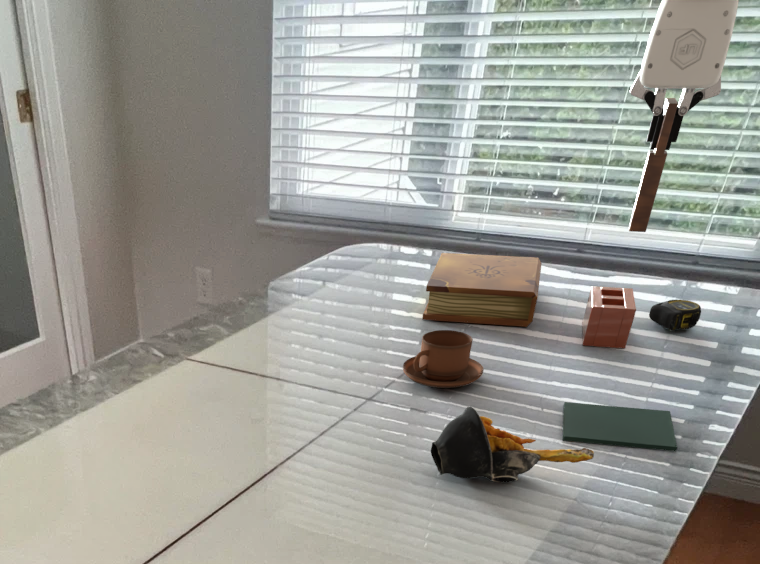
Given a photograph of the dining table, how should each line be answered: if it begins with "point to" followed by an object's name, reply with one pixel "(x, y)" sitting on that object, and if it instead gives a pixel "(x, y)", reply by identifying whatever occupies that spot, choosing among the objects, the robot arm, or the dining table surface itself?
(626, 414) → the mat
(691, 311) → the tape measure
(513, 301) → the diary
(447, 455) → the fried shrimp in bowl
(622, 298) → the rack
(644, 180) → the notched brown wooden bar
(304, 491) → the dining table surface
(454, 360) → the cup and saucer
